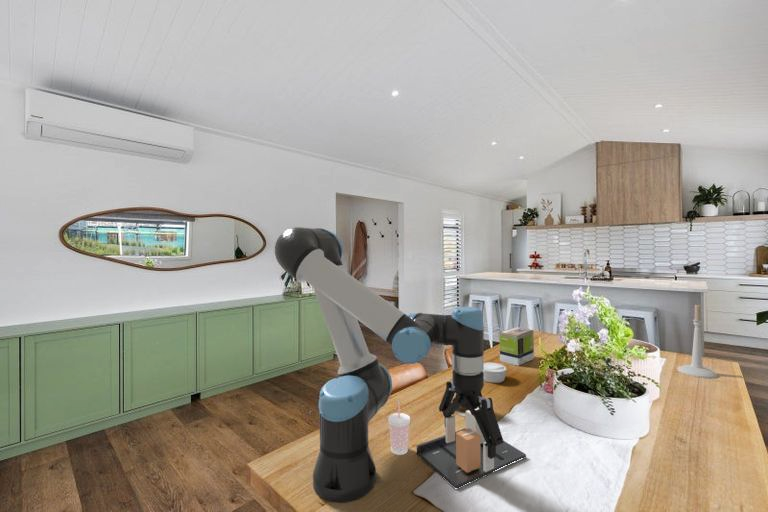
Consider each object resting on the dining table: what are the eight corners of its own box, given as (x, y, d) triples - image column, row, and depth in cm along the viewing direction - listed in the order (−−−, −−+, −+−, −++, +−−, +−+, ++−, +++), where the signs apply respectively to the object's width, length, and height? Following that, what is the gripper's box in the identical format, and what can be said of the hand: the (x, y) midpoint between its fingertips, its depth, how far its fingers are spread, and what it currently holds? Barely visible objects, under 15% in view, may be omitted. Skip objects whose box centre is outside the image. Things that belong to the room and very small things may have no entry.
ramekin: (503, 386, 140) (503, 373, 140) (475, 381, 146) (475, 368, 146) (509, 377, 150) (509, 365, 150) (483, 372, 156) (483, 360, 156)
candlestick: (724, 379, 145) (725, 307, 144) (686, 376, 149) (687, 305, 148) (706, 369, 157) (707, 302, 156) (671, 366, 161) (673, 301, 160)
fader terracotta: (467, 472, 85) (467, 439, 85) (456, 464, 88) (455, 432, 88) (480, 467, 87) (480, 434, 87) (469, 458, 91) (469, 427, 90)
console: (455, 489, 81) (455, 479, 81) (416, 454, 95) (416, 445, 95) (525, 458, 93) (525, 449, 93) (481, 430, 107) (481, 422, 107)
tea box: (515, 354, 180) (515, 326, 180) (534, 359, 172) (534, 329, 172) (499, 361, 170) (499, 330, 170) (518, 366, 163) (518, 334, 162)
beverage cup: (392, 442, 101) (392, 394, 101) (413, 446, 99) (412, 397, 99) (385, 453, 96) (384, 403, 95) (406, 458, 93) (406, 406, 93)
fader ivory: (475, 445, 96) (475, 416, 96) (465, 438, 100) (465, 410, 100) (487, 441, 99) (487, 412, 98) (477, 434, 102) (477, 407, 102)
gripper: (519, 384, 78) (519, 477, 79) (447, 354, 100) (447, 428, 100) (495, 391, 74) (495, 489, 75) (425, 358, 96) (426, 435, 97)
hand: (468, 454), depth 88 cm, fingers open, 13 cm apart
